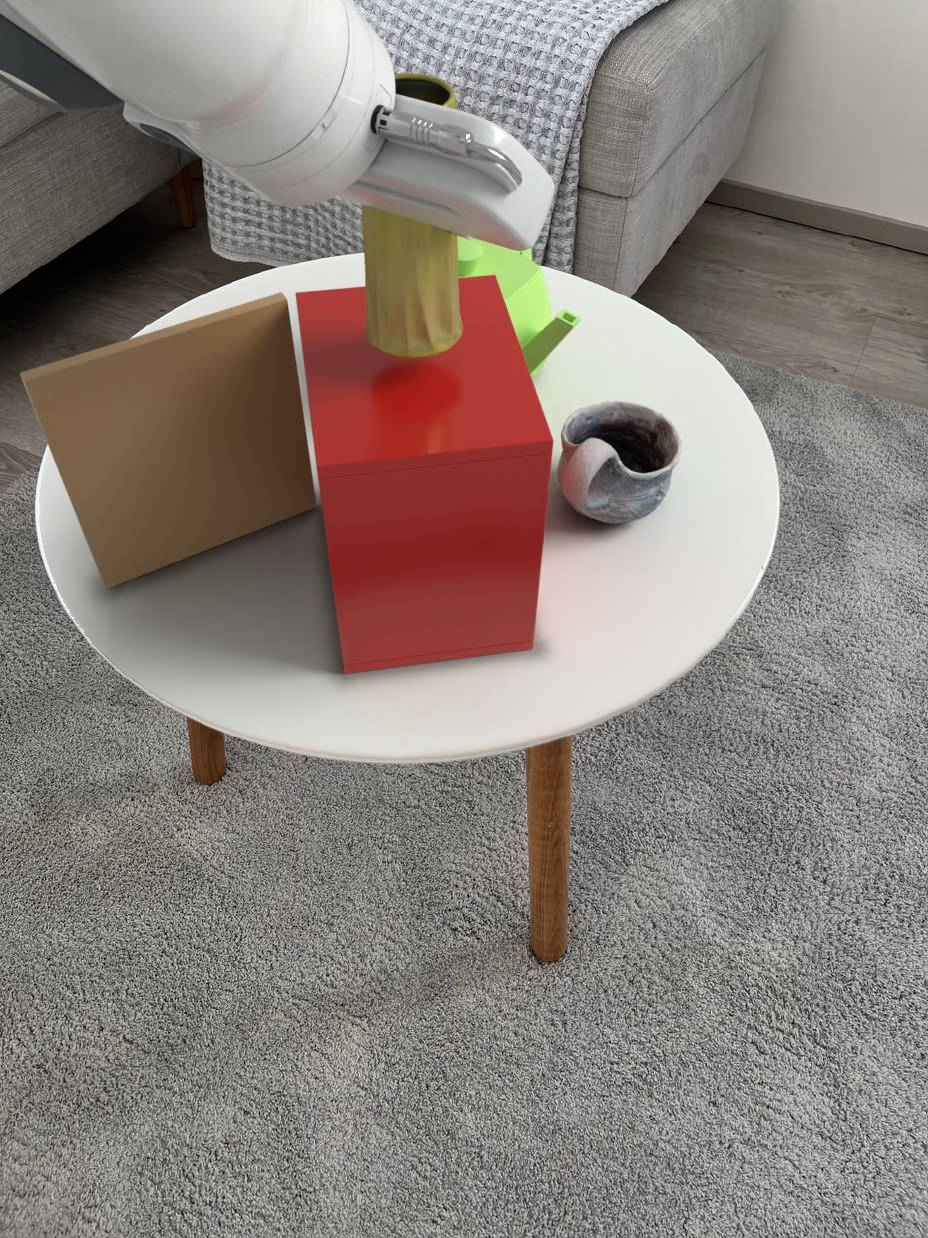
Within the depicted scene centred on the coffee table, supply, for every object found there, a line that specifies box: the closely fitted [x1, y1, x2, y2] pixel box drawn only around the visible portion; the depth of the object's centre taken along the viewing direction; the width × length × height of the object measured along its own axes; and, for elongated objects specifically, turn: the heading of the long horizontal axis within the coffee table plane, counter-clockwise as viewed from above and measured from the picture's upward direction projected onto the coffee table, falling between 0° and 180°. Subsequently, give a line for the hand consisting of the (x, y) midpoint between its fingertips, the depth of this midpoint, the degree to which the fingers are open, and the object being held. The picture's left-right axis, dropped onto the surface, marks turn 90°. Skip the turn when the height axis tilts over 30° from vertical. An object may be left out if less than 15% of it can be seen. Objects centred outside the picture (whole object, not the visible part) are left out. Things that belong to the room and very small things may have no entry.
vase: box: [361, 72, 463, 359], centre depth 58 cm, size 6×6×14 cm
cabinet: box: [295, 275, 554, 674], centre depth 73 cm, size 14×18×20 cm
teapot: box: [457, 236, 582, 381], centre depth 91 cm, size 18×20×13 cm
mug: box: [557, 400, 682, 525], centre depth 81 cm, size 10×12×10 cm
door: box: [19, 291, 317, 590], centre depth 76 cm, size 6×18×20 cm, turn 121°
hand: (414, 207), depth 58 cm, fingers closed on vase, 5 cm apart
